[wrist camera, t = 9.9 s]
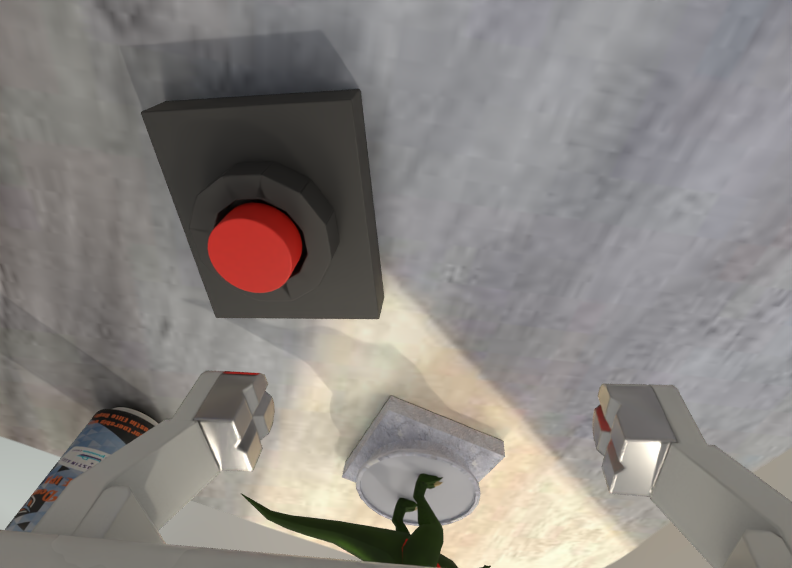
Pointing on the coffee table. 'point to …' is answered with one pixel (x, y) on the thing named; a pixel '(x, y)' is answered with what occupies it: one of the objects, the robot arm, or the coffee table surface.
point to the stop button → (255, 247)
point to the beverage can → (83, 459)
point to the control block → (278, 194)
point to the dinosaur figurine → (407, 486)
